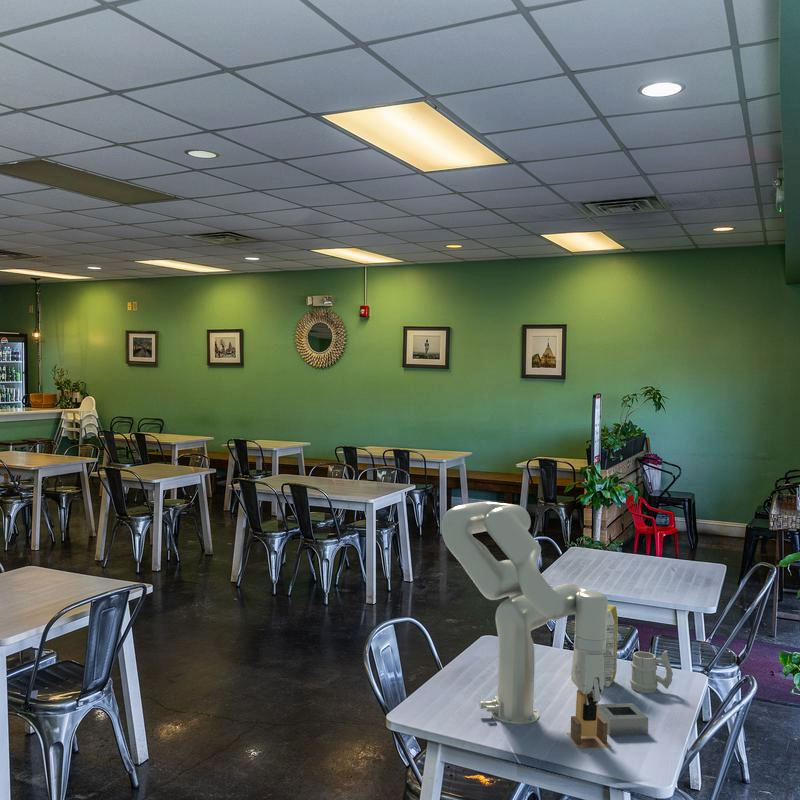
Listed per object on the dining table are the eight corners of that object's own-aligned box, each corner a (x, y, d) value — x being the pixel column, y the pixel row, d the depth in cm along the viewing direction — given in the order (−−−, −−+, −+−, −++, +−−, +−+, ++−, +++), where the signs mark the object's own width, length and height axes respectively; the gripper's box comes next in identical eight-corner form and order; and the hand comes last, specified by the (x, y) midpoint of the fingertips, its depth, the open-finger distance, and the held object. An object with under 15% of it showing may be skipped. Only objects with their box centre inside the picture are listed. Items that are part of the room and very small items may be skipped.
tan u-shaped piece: (578, 751, 177) (578, 727, 177) (566, 736, 185) (567, 713, 185) (611, 750, 178) (612, 726, 178) (598, 735, 186) (599, 712, 186)
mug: (631, 681, 222) (631, 641, 222) (673, 688, 218) (673, 647, 218) (628, 691, 215) (629, 649, 215) (671, 698, 211) (672, 656, 211)
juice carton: (618, 680, 223) (619, 601, 223) (611, 689, 216) (612, 607, 216) (587, 674, 228) (589, 596, 227) (579, 682, 221) (581, 602, 221)
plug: (579, 736, 181) (581, 695, 180) (574, 730, 184) (576, 690, 183) (596, 735, 181) (598, 695, 181) (591, 730, 184) (594, 690, 184)
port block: (609, 739, 184) (610, 719, 184) (595, 723, 193) (596, 704, 193) (647, 737, 185) (648, 718, 185) (632, 722, 194) (632, 703, 194)
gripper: (563, 631, 190) (560, 702, 190) (587, 655, 173) (584, 732, 174) (592, 631, 190) (588, 702, 191) (618, 655, 174) (614, 732, 175)
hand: (586, 716), depth 182 cm, fingers closed on plug, 3 cm apart
